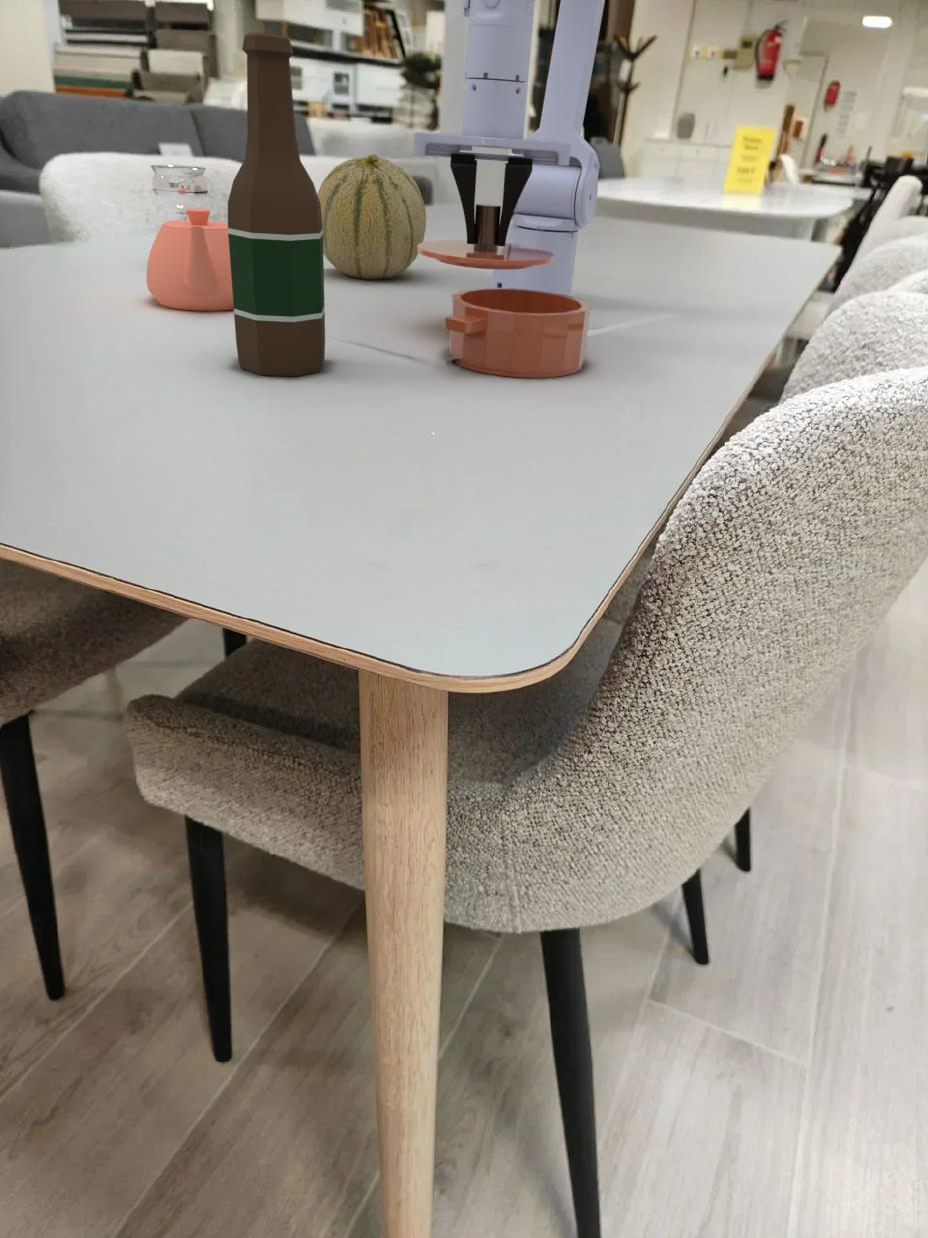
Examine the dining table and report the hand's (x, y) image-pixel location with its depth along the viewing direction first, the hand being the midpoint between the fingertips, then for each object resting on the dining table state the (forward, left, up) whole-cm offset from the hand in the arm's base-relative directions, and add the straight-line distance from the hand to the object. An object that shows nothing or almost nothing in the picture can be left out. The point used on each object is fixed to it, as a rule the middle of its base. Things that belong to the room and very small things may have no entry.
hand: (485, 243), depth 85 cm
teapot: (-29, -13, -9) cm, 33 cm away
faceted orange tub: (+8, -4, -9) cm, 13 cm away
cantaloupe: (-31, +14, -9) cm, 35 cm away
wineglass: (-49, -2, -9) cm, 50 cm away
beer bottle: (-3, -23, -9) cm, 25 cm away
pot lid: (0, 0, -1) cm, 1 cm away
